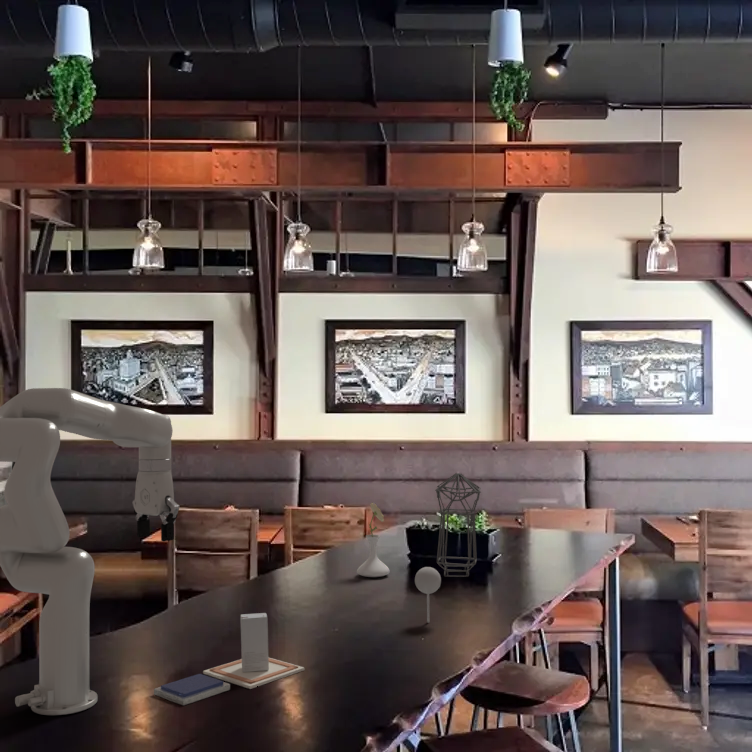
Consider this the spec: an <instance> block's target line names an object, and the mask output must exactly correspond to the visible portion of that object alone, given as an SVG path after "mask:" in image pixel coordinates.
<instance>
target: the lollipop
mask: <svg viewBox="0 0 752 752" xmlns="http://www.w3.org/2000/svg"><path fill="white" fill-rule="evenodd" d="M414 576H415V577H414V584H415V586H416V589H418V591H420V592H421V593H422V594H426V623H428V624H429V623H430V621H431V620H430V594H433V593H436V592H437V591H438V589H440V588H441V584H442V577H441V574H440V573H439V571H438V570H437V569H436V568H434V567H431V566H424V567H422V568H420V569H419V570H417V572H416V574H415V575H414Z"/></svg>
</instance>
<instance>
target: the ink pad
mask: <svg viewBox="0 0 752 752" xmlns="http://www.w3.org/2000/svg"><path fill="white" fill-rule="evenodd" d="M230 690H231V683H230V682H227V681H225V682H224V680H221V679H218V678H215V677H212V676H209V675H206V674H202V673H196V674H194V675H191V676H188V677H185V678H182V679H181V678H180V679H179V680H176V681H172V682H169V683H166V684H165V683H164V684H162V685H160V686H159V687H155V688H153V695H154V696H157V697H159V698H162V699H166V700H168V701H170V702H172V703H175V704H178V705H181V706H187V705H189V704H192V703H196V702H198V701H201V700H204V699H207V698H210V697H213V696H215V695H219V694H221V693H224V692H227V691H230Z"/></svg>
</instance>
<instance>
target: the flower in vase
mask: <svg viewBox="0 0 752 752" xmlns="http://www.w3.org/2000/svg"><path fill="white" fill-rule="evenodd" d="M369 506H370V509H371V511H372V513H373V515H372V518H371V521H370V523H368V525H369V529H370V532H371V533H370V534H366V535H365V537H366V539H367V541H368V546H369V556H368V558H367V559H366V560H365V561H364V562H363V563H362V564H361V565H360V566H359V567H358V568H356V569H357V570H356V573H357V574H358V575H360V576H362V577H366V578H367V577H368V578H379V577H384V576H386V575H388V574H389V573H390V568H389V567H388V566H387V565H386V564H385V563H384V562H383V561H381V560H380V559H379V557H378V555H377V545H378V541H379V539H380V537H381V535H380V534H373V532H374V531H375V530H377V529H378V527H377V526H376V525H375V526H374V527H373V529H372V523H373V519H374V517H376V518H377V520H379V521H380V522H381V523H383V522H385V519H384V517H385V515H383V512H382V510H381V508H379V507H378V505H377V504H376V503H374V502H371V503H370V504H369Z"/></svg>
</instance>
